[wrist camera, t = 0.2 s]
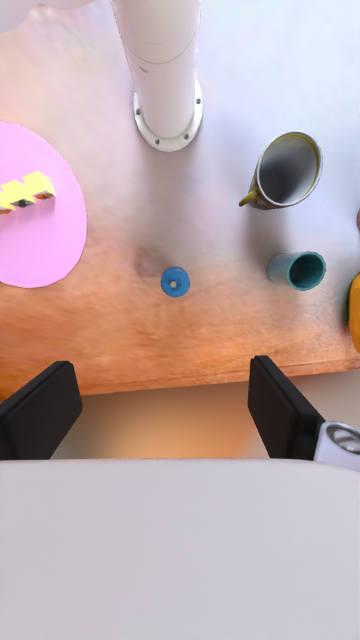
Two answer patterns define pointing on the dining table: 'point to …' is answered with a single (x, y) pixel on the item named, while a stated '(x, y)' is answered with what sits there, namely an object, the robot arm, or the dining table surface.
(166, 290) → the ornament
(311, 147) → the ceramic cup
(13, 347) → the dining table surface
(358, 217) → the cup stack
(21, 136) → the platter
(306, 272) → the teal cup
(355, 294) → the corn
